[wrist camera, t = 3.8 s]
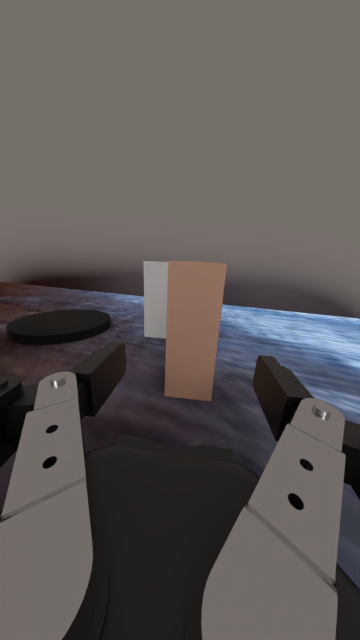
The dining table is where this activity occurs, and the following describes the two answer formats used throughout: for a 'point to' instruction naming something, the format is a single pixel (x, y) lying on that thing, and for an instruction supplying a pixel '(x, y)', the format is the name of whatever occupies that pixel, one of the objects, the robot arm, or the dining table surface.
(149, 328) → the light grey block
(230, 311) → the dining table surface
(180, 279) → the terracotta block
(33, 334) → the wireless charger
